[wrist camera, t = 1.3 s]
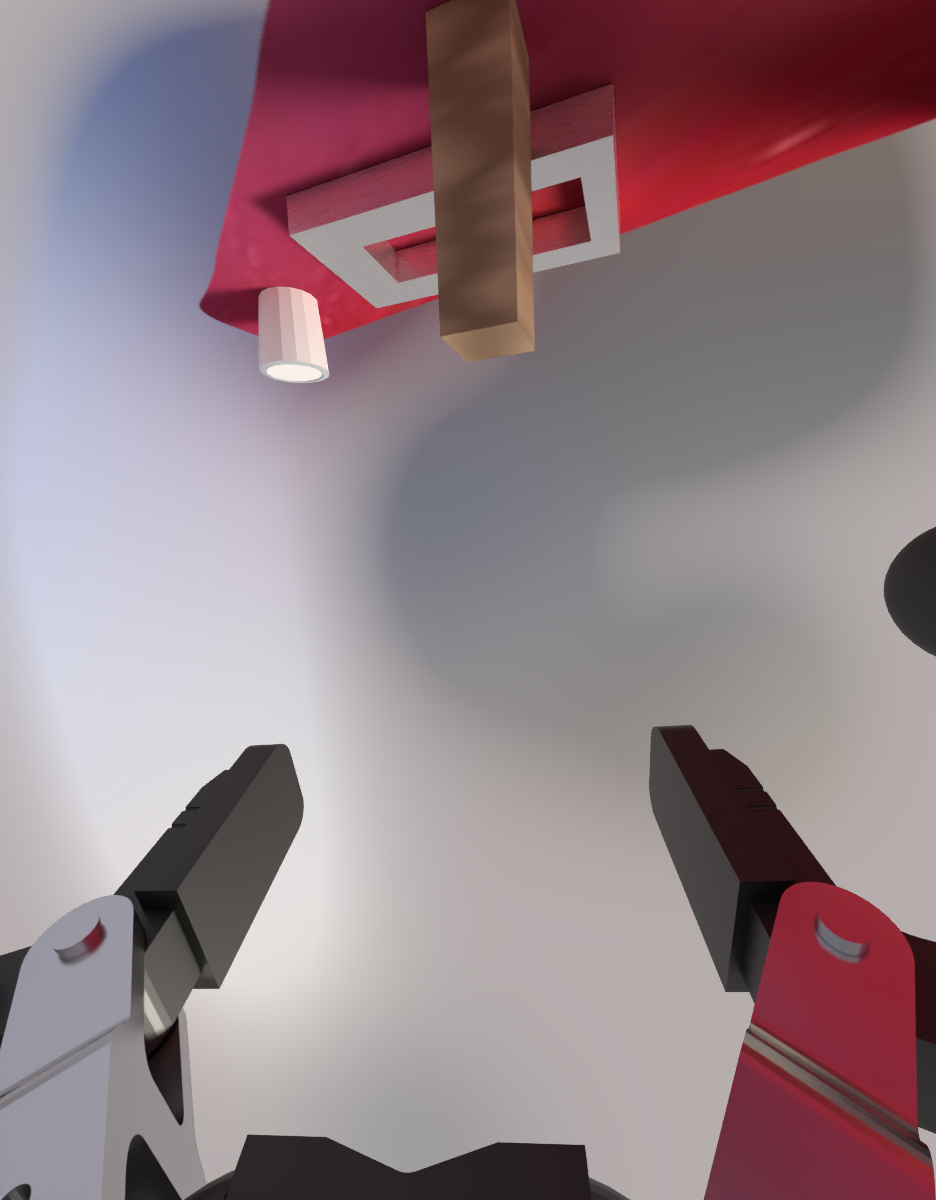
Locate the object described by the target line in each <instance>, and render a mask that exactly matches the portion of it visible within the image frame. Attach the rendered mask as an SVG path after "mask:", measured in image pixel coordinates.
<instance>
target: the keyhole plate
mask: <svg viewBox="0 0 936 1200" xmlns="http://www.w3.org/2000/svg"><path fill="white" fill-rule="evenodd" d="M530 132H531V186H532V191H535V190H538V189H542V188H545V187H549V186H552V185H556V184H559V183H562V182H566V181H569V180H573V179H576V178H580V177H581V181H582V187H583V193H584V200H585V206H583V207H579V208H576V209H572V210H568V211H564V212H561V213H557V214H553V215H549V216H546V217H542V218H538V219H534V220H532V240H533V272H538V271H542V270H546V269H550V268H555V267H560V266H564V265H568V264H573V263H577V262H582V261H586V260H590V259H595V258H599V257H603V256H608V255H612V254H617V253H620V204H619V185H618V165H617V145H616V125H615V106H614V86H613V83H612V84H609V85H606V86H603V87H600V88H597V89H595V90H592V91H589V92H586V93H583V94H580V95H577V96H574V97H571V98H569V99H566V100H563V101H560V102H557V103H554V104H551V105H548V106H545V107H543V108H540V109H537V110H534V111H531V112H530ZM286 202H287V214H288V225H289V236H291V237H292V238H293V239H294V240H295V241H297V242H298V243H299V244H300V245H301V246H303V247H304V248H305V249H306V250H307V251H309V252H310V253H311V254H312V255H313V256H315V257H316V258H317V259H318V260H319V261H321V262H322V263H323V264H324V265H325V266H327V267H328V268H329V269H330V270H331V271H333V272H334V273H335V274H336V275H337V276H339V277H340V278H341V279H342V280H343V281H345V282H346V283H347V284H348V285H349V286H351V287H352V288H353V289H354V290H355V291H357V292H358V293H359V294H360V295H361V296H363V297H364V298H365V299H366V300H367V301H369V302H370V303H371V304H372V305H373V306H375V307H376V308H380V307H384V306H388V305H393V304H397V303H402V302H406V301H410V300H415V299H419V298H424V297H428V296H432V295H437V294H438V273H437V251H436V240H434V241H431V242H427V243H423V244H420V245H416V246H412V247H409V248H405V249H401V250H398V251H396V250H395V249H394V248H393V246H392V245H391V244H390V243H389V242H388V241H387V240H388V239H392V238H395V237H399V236H403V235H406V234H410V233H413V232H417V231H420V230H424V229H427V228H431V227H435V208H434V187H433V165H432V146H430V147H427V148H424V149H421V150H418V151H416V152H413V153H410V154H407V155H404V156H401V157H398V158H395V159H392V160H390V161H387V162H384V163H381V164H378V165H375V166H372V167H369V168H366V169H364V170H361V171H358V172H355V173H352V174H349V175H346V176H343V177H340V178H338V179H335V180H332V181H329V182H326V183H323V184H320V185H317V186H315V187H312V188H309V189H306V190H303V191H300V192H297V193H294V194H291V195H289V196H286Z"/></svg>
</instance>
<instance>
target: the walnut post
mask: <svg viewBox="0 0 936 1200" xmlns="http://www.w3.org/2000/svg"><path fill="white" fill-rule="evenodd" d="M425 14H426V36H427V57H428V79H429V100H430V122H431V143H432V165H433V187H434V208H435V230H436V251H437V273H438V294H439V316H440V336H441V338H442V339H444V340H445V341H446V342H447V343H448V344H449V345H450V346H451V347H452V348H453V349H454V350H455V351H456V352H457V353H458V354H459V355H460V356H461V357H462V358H463V359H464V360H465V361H466V362H471V361H476V360H482V359H488V358H494V357H500V356H506V355H512V354H517V353H523V352H529V351H534V349H535V348H534V295H533V240H532V186H531V132H530V79H529V56H528V52H527V48H526V43H525V39H524V35H523V30H522V26H521V22H520V17H519V13H518V9H517V4H516V0H451V1H448V2H446V3H444V4H442V5H440V6H437V7H435V8H433V9H431V10H429V11H426V12H425Z"/></svg>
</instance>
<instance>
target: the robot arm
mask: <svg viewBox="0 0 936 1200" xmlns="http://www.w3.org/2000/svg"><path fill="white" fill-rule="evenodd" d="M884 598H885V602H886V605H887V608H888V612H889V613H890V615H891V617H892V619H893V621H894V623H895V624H896V625H897V626H898V628H899V629H900V630H901V631H902V633H903V634H904V635H905V636H907V637H908V638H909V639H910V640H911V641H912V642H913V643H914V644H916V645H917V646H919V647H920V648H922V649H923V650H925V651H926V652H928V653H930V654H932V655H934V656H936V527H934V528H932V529H930V530H928V531H926V532H925V533H923V534H921V535H919V536H918V537H916V538H915V539H914V540H912V541H911V542H910V543H909V544H907V545H906V546H905V547H904V548H903V549H902V550H901V552H899V553H898V555H897V556H896V558H895V559H894V560H893V562H892V563H891V565H890V567H889V570H888V572H887V574H886V578H885V582H884ZM649 791H650V799H651V804H652V809H653V813H654V816H655V818H656V821H657V823H658V826H659V828H660V831H661V833H662V836H663V838H664V841H665V843H666V846H667V848H668V851H669V853H670V856H671V858H672V860H673V863H674V866H675V868H676V870H677V873H678V875H679V878H680V880H681V883H682V885H683V888H684V890H685V893H686V895H687V897H688V900H689V903H690V905H691V908H692V910H693V912H694V915H695V917H696V920H697V922H698V925H699V927H700V930H701V932H702V935H703V937H704V940H705V942H706V945H707V947H708V949H709V952H710V955H711V957H712V959H713V962H714V964H715V967H716V969H717V972H718V974H719V977H720V979H721V982H722V984H723V986H724V989H725V991H726V992H750V994H751V997H752V999H753V1001H754V1004H755V1006H754V1010H753V1014H752V1018H751V1022H750V1025H749V1029H747V1030H746V1034H745V1037H744V1040H743V1044H742V1048H741V1051H740V1055H739V1059H738V1063H737V1068H736V1071H735V1076H734V1080H733V1084H732V1088H731V1092H730V1096H729V1100H728V1104H727V1108H726V1112H725V1116H724V1120H723V1124H722V1128H721V1132H720V1136H719V1140H718V1144H717V1148H716V1153H715V1157H714V1161H713V1165H712V1169H711V1173H710V1177H709V1181H708V1185H707V1189H706V1193H705V1197H704V1200H936V1198H935V1180H934V1170H933V1163H932V1158H931V1154H930V1151H929V1148H928V1146H927V1145H926V1144H925V1143H923V1142H922V1141H920V1138H919V1134H918V1127H920V1128H923V1129H925V1130H928V1131H930V1132H933V1133H935V1134H936V942H933V941H929V940H926V939H922V938H918V937H916V936H912V935H909V934H907V933H904V932H901V931H900V930H899V928H898V927H897V926H896V925H895V924H894V923H893V922H892V921H891V920H890V919H889V918H888V917H887V916H886V915H885V914H884V913H882V911H880V910H879V909H878V908H876V907H875V906H874V905H872V904H871V903H870V902H868V901H866V900H865V899H863V898H861V897H860V896H858V895H856V894H853V893H852V892H850V891H848V890H845V889H842V888H840V887H837V886H836V885H835V884H834V883H833V881H832V880H831V879H830V877H829V876H828V875H827V873H826V872H825V870H824V869H823V868H822V866H821V865H820V864H819V862H818V861H817V860H816V858H815V857H814V855H813V854H812V853H811V851H810V850H809V849H808V847H807V846H806V845H805V843H804V842H803V841H802V839H801V838H800V837H799V835H798V834H797V832H796V831H795V830H794V828H793V827H792V826H791V824H790V823H789V822H788V820H787V819H786V818H785V817H784V815H783V814H782V812H781V811H780V810H777V808H776V804H775V803H774V801H773V800H772V799H771V798H770V796H769V795H768V793H767V792H764V790H763V787H762V785H761V784H760V783H759V781H758V780H757V778H756V777H755V776H754V775H753V773H752V772H751V770H750V769H749V768H748V766H746V765H745V764H744V763H742V762H741V761H739V760H738V759H737V758H735V757H734V756H732V755H731V754H730V753H728V752H727V751H726V750H724V749H715V750H709V749H708V747H707V746H706V744H705V743H704V741H703V740H702V738H701V737H700V735H699V734H698V732H697V731H696V729H695V728H694V727H693V726H692V725H680V726H660V727H653V729H652V732H651V751H650V778H649ZM303 808H304V805H303V796H302V793H301V789H300V786H299V782H298V779H297V775H296V772H295V768H294V764H293V761H292V757H291V754H290V751H289V749H288V747H287V746H286V745H284V744H276V745H275V744H274V745H254V746H249V747H248V748H246V749H245V751H244V752H243V753H242V754H241V756H240V757H239V758H238V759H237V761H236V762H235V763H234V764H233V766H232V767H231V768H230V770H224V771H223V772H222V773H221V774H219V775H218V776H216V777H215V778H214V779H212V780H211V781H210V782H209V783H207V784H206V785H205V786H204V787H202V788H201V789H200V791H199V792H198V793H197V794H196V795H195V797H194V798H193V799H192V800H191V802H190V803H189V804H188V805H187V806H186V810H185V811H183V812H181V814H180V815H179V816H178V817H177V818H176V820H175V821H174V822H173V823H172V827H171V828H168V829H167V831H166V832H165V833H164V834H163V835H162V837H161V838H160V839H159V840H158V841H157V843H156V844H155V845H154V846H153V847H152V849H151V850H150V851H149V852H148V854H147V855H146V856H145V857H144V858H143V860H142V861H141V862H140V863H139V864H138V866H137V867H136V868H135V870H133V872H132V873H131V874H130V876H129V877H128V878H127V879H126V880H125V881H124V883H123V884H122V885H121V886H120V887H119V889H118V890H117V891H116V892H115V894H114V895H110V896H105V897H101V898H98V899H95V900H92V901H90V902H87V903H85V904H83V905H81V906H79V907H77V908H75V909H74V910H72V911H71V912H69V913H67V914H66V915H65V916H63V917H62V918H61V919H59V920H58V921H57V922H55V923H54V924H53V925H52V926H51V927H49V928H48V929H47V930H46V931H45V932H44V933H43V934H42V935H41V936H40V937H39V938H38V940H37V941H36V942H35V943H34V944H33V946H30V947H27V948H24V949H21V950H17V951H14V952H11V953H8V954H4V955H1V956H0V1200H630V1199H628V1198H626V1197H625V1196H623V1195H622V1194H620V1193H618V1192H617V1191H615V1190H614V1189H612V1188H610V1187H609V1186H607V1185H604V1184H602V1183H600V1182H597V1181H595V1180H593V1179H591V1178H589V1176H588V1168H587V1159H586V1151H585V1145H563V1144H531V1143H530V1144H529V1143H495V1144H492V1145H489V1146H486V1147H484V1148H481V1149H478V1150H475V1151H472V1152H469V1153H467V1154H464V1155H461V1156H458V1157H456V1158H453V1159H450V1160H447V1161H444V1162H441V1163H438V1164H436V1165H433V1166H430V1167H427V1168H424V1169H421V1170H419V1171H416V1172H411V1173H403V1172H400V1171H397V1170H395V1169H393V1168H391V1167H388V1166H386V1165H384V1164H382V1163H380V1162H378V1161H376V1160H374V1159H372V1158H369V1157H367V1156H365V1155H363V1154H361V1153H359V1152H357V1151H354V1150H352V1149H350V1148H348V1147H346V1146H344V1145H342V1144H340V1143H338V1142H336V1141H333V1140H331V1139H329V1138H327V1137H303V1136H271V1135H247V1138H246V1141H245V1144H244V1147H243V1149H242V1152H241V1155H240V1158H239V1161H238V1163H237V1166H236V1169H235V1170H234V1171H231V1172H229V1173H227V1174H225V1175H223V1176H221V1177H219V1178H217V1179H216V1180H214V1181H212V1182H210V1183H208V1184H206V1180H205V1176H204V1172H203V1168H202V1165H201V1162H200V1158H199V1154H198V1149H197V1144H196V1139H195V1129H194V1116H193V1102H192V1088H191V1074H190V1061H189V1047H188V1032H187V1019H186V1014H185V1012H184V1010H183V1008H182V1007H183V1005H184V1004H185V1002H186V1000H187V998H188V996H189V994H190V993H191V991H192V989H219V988H220V986H221V984H222V982H223V980H224V978H225V976H226V974H227V972H228V970H229V968H230V966H231V964H232V962H233V960H234V958H235V956H236V954H237V952H238V950H239V948H240V946H241V944H242V942H243V940H244V938H245V936H246V934H247V932H248V930H249V928H250V926H251V924H252V922H253V920H254V918H255V916H256V914H257V912H258V910H259V908H260V906H261V904H262V902H263V900H264V898H265V896H266V894H267V892H268V890H269V888H270V886H271V884H272V882H273V880H274V878H275V876H276V874H277V872H278V870H279V867H280V866H281V864H282V862H283V860H284V858H285V856H286V854H287V852H288V850H289V848H290V846H291V843H292V842H293V840H294V838H295V835H296V834H297V831H298V830H299V827H300V825H301V821H302V817H303Z"/></svg>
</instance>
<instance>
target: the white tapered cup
mask: <svg viewBox="0 0 936 1200" xmlns="http://www.w3.org/2000/svg"><path fill="white" fill-rule="evenodd" d="M259 370H260V371H261V373H262V374H263V375H265V376H267V377H269V378H273V379H276V380H280V381H285V382H293V383H310V382H317V381H321V380H324V379H326V378H327V377H328V376H329V370H328V365H327V358H326V352H325V346H324V340H323V334H322V328H321V322H320V316H319V310H318V304H317V300H316V299H315V298H314V297H313V296H312V295H311V294H309V293H307V292H305V291H303V290H299V289H295V288H291V287H279V286H278V287H271V288H267V289H265V290H263V291H261V292H260V294H259Z"/></svg>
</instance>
